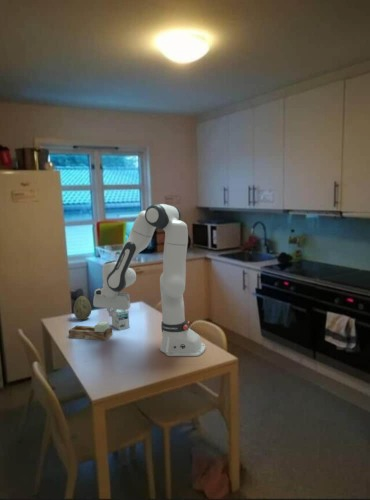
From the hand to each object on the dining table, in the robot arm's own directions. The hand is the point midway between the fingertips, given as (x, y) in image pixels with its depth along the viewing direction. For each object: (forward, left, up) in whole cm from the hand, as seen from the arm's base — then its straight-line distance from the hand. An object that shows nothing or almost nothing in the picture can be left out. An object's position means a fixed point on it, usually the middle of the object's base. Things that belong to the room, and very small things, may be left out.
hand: (112, 316), depth 205 cm
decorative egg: (+32, -25, -12) cm, 43 cm away
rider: (+6, 0, -10) cm, 12 cm away
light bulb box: (+3, -17, -13) cm, 21 cm away
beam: (+13, 0, -12) cm, 18 cm away
